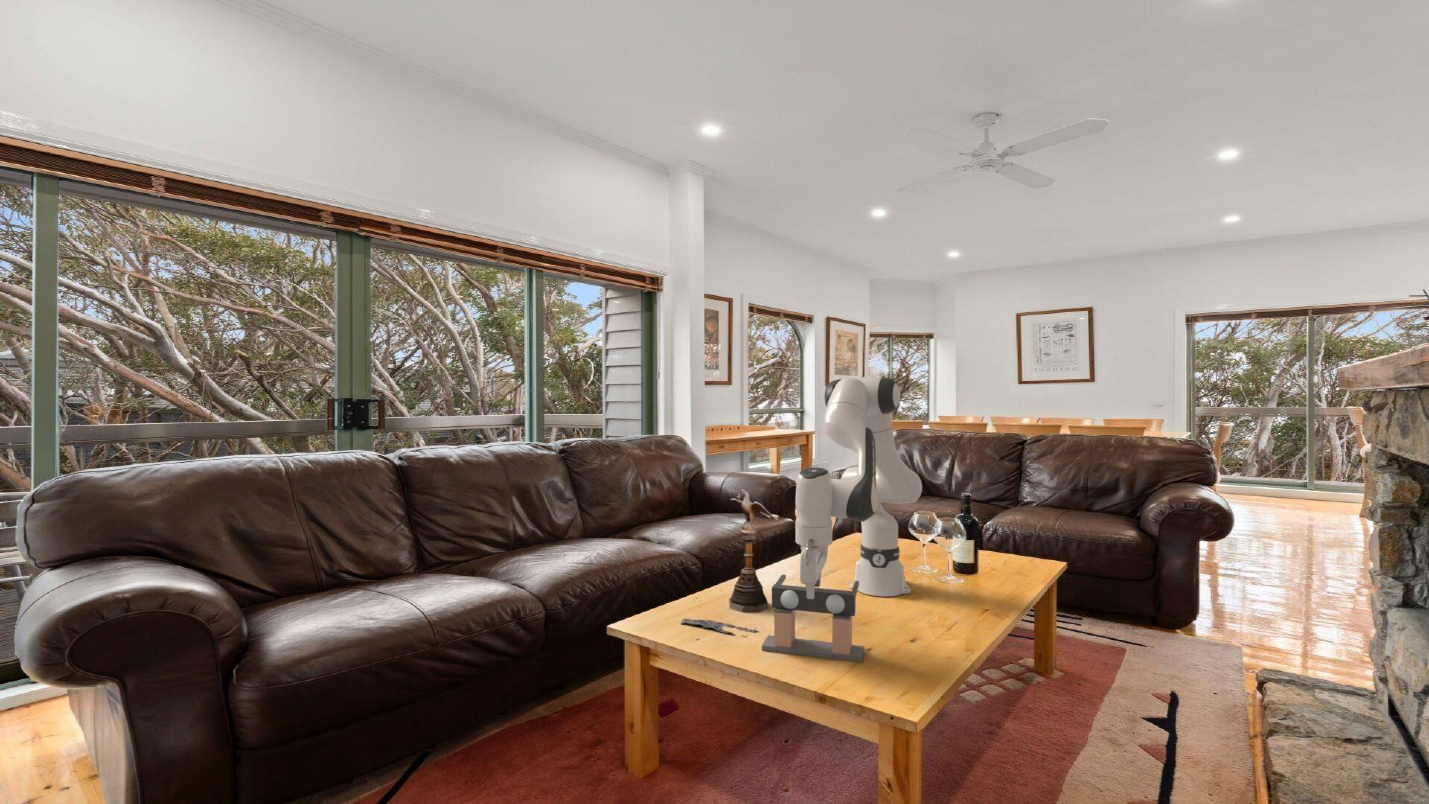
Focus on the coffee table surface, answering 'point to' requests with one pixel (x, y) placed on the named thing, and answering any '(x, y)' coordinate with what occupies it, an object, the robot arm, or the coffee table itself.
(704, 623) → the driftwood
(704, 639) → the coffee table surface
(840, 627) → the stand
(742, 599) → the bird statue
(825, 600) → the glasses
